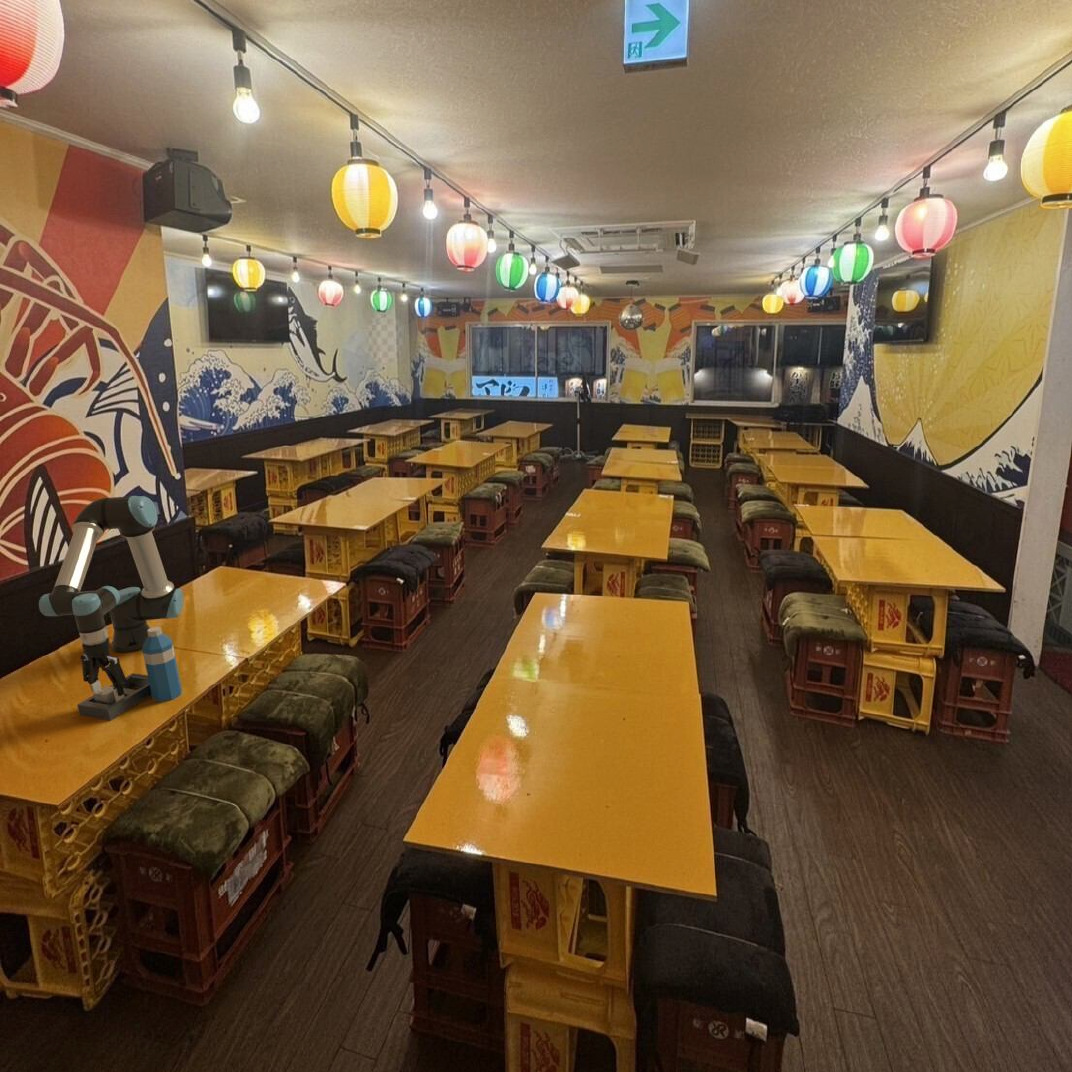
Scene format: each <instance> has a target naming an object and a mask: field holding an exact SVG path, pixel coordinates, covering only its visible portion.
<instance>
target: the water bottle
mask: <svg viewBox="0 0 1072 1072" xmlns="http://www.w3.org/2000/svg"><path fill="white" fill-rule="evenodd" d="M147 632H148V637H147V639H146V641H145V643H144V645H143V647H142V649H141V651H142V654H143V655H142V656H143V659H144V665H145V669H146V675H148V679H149V684H150V689H151V693H152V695H151V697H152V701H154V702H158V703H163V702H167V701H173V700H175V699H176V698H178V697H180V696H182V693H183V689H182V683H181V679H180V678H181V677H180V674H179V669H178V664H177V658H176V653H175V649H174V643H173V640H172V639H171V638H170V637H169V636H167V634H165V633H163V632H162V627H160V626H154V627H150V629H148V631H147Z"/></svg>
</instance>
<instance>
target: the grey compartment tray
mask: <svg viewBox="0 0 1072 1072" xmlns="http://www.w3.org/2000/svg"><path fill="white" fill-rule="evenodd" d="M125 678H126V680H127V684H125V685H123V690H124V698H122V699H121V700H119V701H117V702H116V703H114V704H112V705H107V704H101V703H96V702H95V699H94V695H92V696H90V697H88V698H86V699H85V700H83V701H81V702H80V703H77V704H76V705H77V709H78V714H79V716H81V717H88V718H94V719H99V720H104V721H112V720H114V719H115V718H117V717H119V716H121V715H122V714H124V713H125V712H127V711H129V710H131V709H132V708H134V707H135V706H137V705H139V704H140V703H141V702H143V701H145V700H146V699H148V698H150V697H152V693H151V689H150V684H149V679H148V674H140V673H134V672H133V673H131V674H129V675H128V676H125ZM110 687H114V685H113V684H111V685H110ZM132 688H135V689H132Z"/></svg>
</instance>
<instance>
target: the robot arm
mask: <svg viewBox="0 0 1072 1072" xmlns="http://www.w3.org/2000/svg"><path fill="white" fill-rule="evenodd" d="M158 518H159V517H158V511H157V508H156V505H155V503H154V502H153V501H152V499H150V498H149V497H147V496H145V495H144V496H142V495H141V496H140V495H139V496H138V495H131V496H119V497H117V496H115V497H114V496H113V497H101V498H98V499H95V500H93V501H92V502H90V503H88V504H87V505H86V506H85V507H84V508H82V510H81V511H80V512H79V513H78V515H77V516H76V518H75V519H74V521H73V524H72V526H71V530H72V532H73V533H72V537H71V540H70V542H69V545H68V548H67V551H66V552H65V556H64V559H63V561H62V564H61V567H60V570H59V574H58V576H57V578H56V581H55V585H54V586H53V589H52V590H51V591H52V592H49V593H46V594H43V595H42V596H40V598H39V600H38V609H39V611H40V613H41V614H42V615H43V616H45V617H61V616H63V617H64V616H72V615H73V616H74V619H75V623H76V626H77V630H78V631H77V632H78V634H79V639H80V641H81V646H82V647H81V648H82V651H83V654H82V655H80V656H79V658H80V660H81V666H82V676H83V678H82V679H83V682H87V683H88V684H89V686H90V690H91V692H92V693H93V695H94V693H95V692H97V691H99V690H100V689H102V688H103V687H102V685H101V681H100V678H99V673H100V669H101V671H102V672H105V674H106V676H107V677H108V679H109V680H110V682H111V685H114V688H113V691H114V696H115V700H116V702H117V701H119V700H121V699H122V698H124V690H123V685H125V684H127V680H126V678H125V677H126V676H125V672H124V671H123V668H122V666H121V663H120V657H119V656H115V657H112V655H111V654H110V650H111V647H112V651H114V652H116V653H131V652H136V651H140V650H142V647H143V645H144V643H145V641H146V639H147V637H148V632H147V631H148V629H150V628H151V627H150V626H149V624H148V622H147V621H151V620H152V621H154V620H165V619H166V620H169V619H175V618H178V617H179V616H180V615H181V613H182V611H183V607H184V601H185V600H184V599H185V598H184V593H183V590H182V589H180V588H175V585H174V583H173V582H172V581H170V580H168V578H167V577H168V576H167V574H166V571H165V568H164V565H163V562H162V559H161V555H160V553H159V550H158V547H157V543H156V540H155V537H154V535H153V531H154V530H155V528H156V527H155V526H156V525H157V523H158ZM117 529H118V532H119V534H120V536H121V537H122V538H125V539H126V541H127V544H128V546H129V549H130V552H131V554H132V558H133V560H134V563H135V565H136V566H135V567H136V569H137V571H138V575H139V577H140V580H141V582H142V586H143V588H142V589H141V588H140V587H137V586H130V587H125V588H124V589H120V590H118V589H116V588H115V587H113V586H110V585H104V586H102V587H100V588H98V589H97V590H87V591H85V590H84V591H81V590H82V587H83V584H84V580H85V579H86V576H87V575H86V574H87V571H88V570H89V568H90V567H89V566H90V563H91V561H92V558H93V554H94V551H95V549H96V545H97V542H98V539H100V538H102V536H103V535H104V532H105V531H106V530H117ZM108 613H109V614H110V618H111V619H110V621H111V624H112V627H113V636H112V642H110V639H109V632H108V630H107V629H108V628H107V626H106V622H105V616H106V615H107V614H108ZM93 695H92V696H93ZM94 699H95V698H94Z"/></svg>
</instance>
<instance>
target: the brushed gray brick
mask: <svg viewBox="0 0 1072 1072" xmlns="http://www.w3.org/2000/svg"><path fill="white" fill-rule="evenodd" d="M110 686H111V685H110ZM110 686H108V685H106V686H104V687H101V688H102V689H100V690H99V691H97V692H95V693H94V698H95V702H96V703H101V704H107V705H112V704H114V703H116V700H115V696H114V691H113V688H114V687H110Z"/></svg>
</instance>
